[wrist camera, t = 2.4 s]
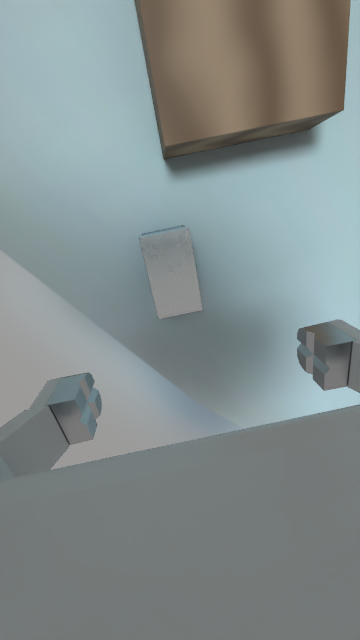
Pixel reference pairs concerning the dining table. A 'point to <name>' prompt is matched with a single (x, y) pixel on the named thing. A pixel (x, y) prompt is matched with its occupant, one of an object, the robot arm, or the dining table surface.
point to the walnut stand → (242, 68)
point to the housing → (171, 271)
